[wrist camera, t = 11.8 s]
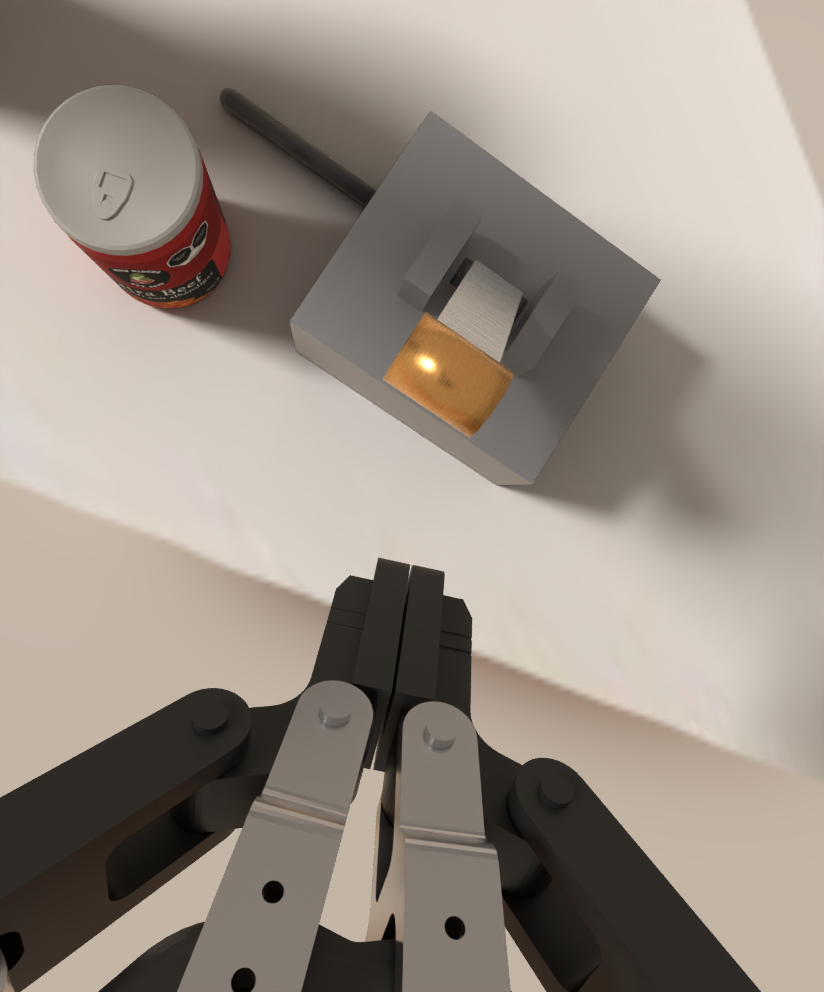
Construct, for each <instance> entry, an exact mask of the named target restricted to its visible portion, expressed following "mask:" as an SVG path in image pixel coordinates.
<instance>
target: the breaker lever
mask: <svg viewBox="0 0 824 992" xmlns="http://www.w3.org/2000/svg"><path fill="white" fill-rule="evenodd" d="M449 284H451V285H452V286H454V287H455V288H457V289H456V291H455V292H454V294H453V295H452V297H451V299H450V300H449V302H448V303H447V305H446V306H445V308H444V309H443V311H442V312H441V314H440V316H439V317H438V319H436V318H435V317H433V316H432V315H430V314H429V313H427V312H426V313H425V314H424V315H423V317H422V318H421V320H420V321H419V323H418V324H417V326H416V327H415V329H414V330H413V332H412V333H411V335H410V336H409V338H408V339H407V341H406V343H405V344H404V346H403V347H402V349H401V350H400V352H399V353H398V355H397V357H396V358H395V360H394V361H393V363H392V364H391V366H390V368H389V369H388V371H387V372H386V374H385V376H384V377H383V380H384V381H386V382H387V383H389V384H390V385H392V386H393V387H395V388H396V389H398V390H399V391H401V392H402V393H404V394H405V395H407V396H408V397H410V398H411V399H412V400H414V401H415V402H417V403H418V404H420V405H421V406H423V407H424V408H426V409H427V410H429V411H430V412H432V413H433V414H435V415H436V416H438V417H439V418H441V419H442V420H444V421H445V422H447V423H448V424H450V425H451V426H453V427H454V428H456V429H457V430H459V431H460V432H462V433H463V434H465V435H466V436H468V437H471V436H473V435H474V434H475V433H476V432H477V431H478V430H479V429H480V427H481V426H482V425H483V424H484V423H485V421H486V420H487V419H488V417H489V416H490V415H491V413H492V412H493V411H494V409H495V408H496V406H497V405H498V403H499V402H500V400H501V399H502V397H503V395H504V394H505V392H506V390H507V389H508V387H509V385H510V383H511V381H512V378H513V376H514V372H513V371H511V370H510V369H508V368H507V367H505V366H504V365H502V364H501V363H500V361H501V358H502V355H503V352H504V349H505V346H506V343H507V340H508V336H509V333H510V330H511V327H512V325H513V324H514V322H515V321H516V320H517V318H518V317H519V316H520V314H521V313H522V311H523V310H524V308H525V307H526V305H527V303H528V300H527V299H525V298H524V297H523V296H522V294H523V292H521V291H520V290H519V289H517V288H516V287H514V286H513V285H512V284H510V283H509V282H507V281H506V280H504V279H503V278H502V277H500V276H499V275H497V274H496V273H495V272H493V271H492V270H490V269H489V268H488V267H486V266H485V265H483V264H482V263H481V262H479V261H478V260H475V262H473V261H472V260H471V259H469V258H468V257H466V258H465V259H464V261H463V262H462V264H461V265H460V267H459V268H458V270H457V272H456V273H455V275H454V276H453V278H452V279H451V281H450V283H449Z"/></svg>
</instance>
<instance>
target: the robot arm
mask: <svg viewBox="0 0 824 992" xmlns="http://www.w3.org/2000/svg"><path fill="white" fill-rule="evenodd" d="M409 569H410V564H405V563H401V562H396V561H392V560H387V559H382V558H378V562H377V566H376V570H375V575H374V579H373V580H369V579H364V578H360V577H355V576H351V575H350V576H349V577H348V578H347V579H346V580H345V581H344V582H343V583H342V584H341V585H340V586H339V587H338V588H337V589H336V591H335V595H334V599H333V602H332V606H331V610H330V613H329V616H328V620H327V624H326V627H325V630H324V634H323V638H322V641H321V645H320V648H319V652H318V655H317V659H316V663H315V666H314V670H313V673H312V677H311V680H310V682H309V684H308V685H307V687H306V688H305V690H304V691H303V692H302V693H301V694H299V695H298V696H297V697H296V698H294V699H292V700H290V701H288V702H286V703H283V704H279V705H274V706H265V707H253V708H249V707H248V705H247V704H246V702H245V701H244V700H243V699H242V698H241V697H239V696H238V695H237V694H235V693H233V692H231V691H228V690H224V689H218V688H208V689H201V690H198V691H195V692H192V693H190V694H188V695H186V696H185V697H183V698H181V699H179V700H177V701H175V702H173V703H172V704H170V705H168V706H166V707H164V708H163V709H161V710H159V711H157V712H155V713H154V714H152V715H150V716H148V717H146V718H144V719H142V720H141V721H139V722H137V723H135V724H134V725H132V726H130V727H128V728H126V729H124V730H123V731H121V732H119V733H117V734H115V735H113V736H112V737H110V738H108V739H106V740H104V741H103V742H101V743H99V744H97V745H95V746H94V747H92V748H90V749H88V750H86V751H84V752H83V753H81V754H79V755H77V756H75V757H73V758H72V759H70V760H68V761H66V762H64V763H62V764H61V765H59V766H57V767H55V768H53V769H52V770H50V771H48V772H46V773H44V774H42V775H41V776H39V777H37V778H35V779H33V780H32V781H30V782H28V783H26V784H24V785H23V786H21V787H19V788H17V789H15V790H13V791H12V792H10V793H8V794H6V795H5V796H2V797H1V798H0V992H21V991H22V990H23V989H25V988H26V987H27V986H29V985H30V984H31V983H33V982H34V981H36V980H37V979H38V978H39V977H41V976H42V975H44V974H45V973H46V972H48V971H49V970H50V969H52V968H53V967H54V966H56V965H57V964H58V963H59V962H61V961H62V960H64V959H65V958H66V957H68V956H69V955H70V954H72V953H73V952H74V951H76V950H77V949H78V948H80V947H81V946H82V945H84V944H85V943H86V942H88V941H89V940H90V939H92V938H93V937H94V936H96V935H97V934H98V933H100V932H101V931H102V930H104V929H105V928H106V927H108V926H109V925H110V924H112V923H113V922H115V921H116V920H117V919H119V918H120V917H121V916H122V915H124V914H125V913H127V912H128V911H129V910H131V909H132V908H133V907H135V906H136V905H137V904H139V903H140V902H141V901H143V900H144V899H145V898H147V897H148V896H149V895H151V894H152V893H153V892H155V891H156V890H157V889H159V888H160V887H161V886H163V885H164V884H165V883H167V882H168V881H169V880H171V879H172V878H173V877H175V876H176V875H177V874H179V873H180V872H181V871H183V870H184V869H185V868H187V867H188V866H189V865H191V864H192V863H194V862H195V861H196V860H198V859H199V858H200V857H202V856H203V855H204V854H206V853H207V852H208V851H210V850H211V849H212V848H214V847H215V846H216V845H217V844H219V843H220V842H222V841H223V840H224V839H226V838H227V837H228V836H229V835H230V834H231V833H232V832H233V831H234V830H235V829H236V828H242V831H241V833H240V836H239V838H238V841H237V843H236V846H235V848H234V851H233V853H232V856H231V858H230V861H229V863H228V866H227V868H226V871H225V873H224V876H223V878H222V881H221V883H220V886H219V888H218V891H217V893H216V896H215V898H214V901H213V903H212V906H211V908H210V911H209V913H208V916H207V918H206V921H205V922H202V923H198V924H195V925H193V926H190V927H187V928H184V929H182V930H180V931H178V932H176V933H174V934H172V935H170V936H168V937H166V938H165V939H163V940H162V941H160V942H159V943H157V944H156V945H154V946H153V947H151V948H150V949H148V950H147V951H146V952H145V953H143V954H142V955H141V956H140V957H138V958H137V959H136V960H135V961H134V962H133V963H131V964H130V965H129V966H128V967H127V968H126V969H124V970H123V971H122V972H121V973H120V974H119V975H118V976H116V977H115V978H114V979H113V980H111V981H110V982H109V983H108V984H107V985H106V986H104V987H103V988H102V989H101V990H100V991H99V992H512V991H511V990H510V979H509V969H508V958H507V947H506V936H505V927H506V929H507V931H508V932H509V933H510V935H511V937H512V938H513V940H514V941H515V943H516V945H517V946H518V948H519V949H520V951H521V952H522V954H523V956H524V957H525V959H526V960H527V962H528V963H529V965H530V967H531V968H532V969H533V971H534V973H535V974H536V976H537V978H538V979H539V981H540V982H541V984H542V985H543V987H544V988H545V990H546V992H761V991H760V990H759V989H758V988H757V986H756V985H755V984H754V983H753V982H752V981H751V979H750V978H749V977H748V976H747V975H746V973H745V972H744V971H743V970H742V968H741V967H740V966H739V965H738V964H737V963H736V961H735V960H734V959H733V958H732V957H731V955H730V954H729V953H728V952H727V951H726V949H725V948H724V947H723V946H722V945H721V944H720V942H719V941H718V940H717V939H716V937H715V936H714V935H713V934H712V933H711V932H710V930H709V929H708V928H707V927H706V926H705V924H704V923H703V922H702V921H701V920H700V918H699V917H698V916H697V915H696V914H695V912H694V911H693V910H692V909H691V908H690V906H689V905H688V904H687V903H686V902H685V901H684V899H683V898H682V897H681V896H680V895H679V893H678V892H677V891H676V890H675V889H674V887H673V886H672V885H671V884H670V883H669V881H668V880H667V879H666V878H665V877H664V875H663V874H662V873H661V872H660V871H659V870H658V868H657V867H656V866H655V865H654V864H653V863H652V861H651V860H650V859H649V858H648V856H647V855H646V854H645V853H644V852H643V850H642V849H641V848H640V847H639V846H638V844H637V843H636V842H635V841H634V840H633V839H632V838H631V836H630V835H629V834H628V833H627V831H626V830H625V829H624V828H623V827H622V825H621V824H620V823H619V822H618V821H617V819H616V818H615V817H614V816H613V815H612V814H611V812H610V811H609V810H608V809H607V808H606V806H605V805H604V804H603V803H602V802H601V800H600V799H599V798H598V797H597V796H596V794H595V793H594V792H593V791H592V790H591V789H590V787H589V786H588V785H587V784H586V783H585V782H584V780H583V779H582V778H581V777H580V776H579V775H578V774H577V772H575V771H574V770H573V769H572V768H570V767H569V766H567V765H566V764H564V763H562V762H560V761H557V760H554V759H549V758H537V759H532V760H530V761H528V762H526V763H525V764H524V765H521V764H519V763H517V762H515V761H513V760H511V759H509V758H508V757H506V756H504V755H502V754H500V753H498V752H497V751H495V750H494V749H492V748H491V747H490V746H488V745H487V744H486V743H485V742H484V741H483V740H482V738H481V737H480V736H479V735H478V733H477V731H476V730H475V728H474V725H473V723H472V719H471V713H470V703H471V702H470V701H471V649H472V640H471V638H472V617H471V615H470V613H469V611H468V609H467V607H466V605H465V602H464V600H463V599H458V598H453V597H449V596H444V595H443V589H444V575H445V574H444V572H443V571H438V570H434V569H429V568H425V567H420V566H415V565H412V568H411V571H410V575H409ZM408 576H409V578H408ZM377 742H378V743H377ZM376 746H377V751H376V757H375V763H374V770H378V771H382V772H385V775H384V783H383V790H382V794H381V797H380V801H379V804H378V808H377V816H376V832H375V848H374V863H373V879H372V896H371V909H370V918H369V924H368V930H367V935H366V941H365V942H353V941H350V940H348V939H346V938H344V937H342V936H340V935H338V934H336V933H334V932H332V931H331V930H329V929H327V928H325V927H323V926H321V925H319V922H320V918H321V914H322V911H323V907H324V903H325V899H326V895H327V891H328V888H329V884H330V880H331V876H332V872H333V868H334V865H335V861H336V857H337V853H338V850H339V846H340V842H341V838H342V834H343V831H344V827H345V823H346V819H347V815H348V811H349V808H350V804H351V803H352V802H353V800H354V799H355V797H356V794H357V791H358V787H359V783H360V779H361V776H362V772H363V768H367V769H370V767H371V764H372V760H373V757H374V753H375V749H376Z"/></svg>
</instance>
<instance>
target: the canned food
mask: <svg viewBox="0 0 824 992" xmlns="http://www.w3.org/2000/svg"><path fill="white" fill-rule="evenodd" d="M34 176H35V182H36V187H37V190H38V192H39V195H40V197H41V200H42V202H43V204H44V206H45V207H46V209H47V210H48V212H49V214H50V215H51V217H52V218H53V220H54V221H55V223H56V224H57V225H58V226H59V227H60V228H61V229H62V230H63V231H64V232H65V233H66V234H67V235H68V236H69V237H70V238H71V240H72V241H73V242H74V243H75V244H76V245H77V246H78V247H79V248H80V249H82V250H83V251H84V252H85V253H86V254H87V255H88V256H89V257H90V258H91V259H92V260H93V261H94V262H95V263H96V264H97V265H98V266H99V267H100V268H101V269H102V270H103V271H104V272H105V273H106V274H107V275H109V276H110V277H111V278H112V279H113V280H114V281H115V282H116V283H117V284H118V285H119V286H120V287H121V288H122V289H123V290H124V291H125V292H126V293H128V294H129V295H130V296H132V297H133V298H135V299H136V300H138V301H140V302H142V303H144V304H147V305H150V306H154V307H158V308H178V307H185V306H188V305H191V304H194V303H196V302H198V301H200V300H201V299H203V298H205V297H206V296H207V295H208V294H209V293H210V292H212V291H213V290H214V289H215V287H216V286H217V285H218V283H219V282H220V280H221V279H222V277H223V275H224V273H225V270H226V268H227V266H228V261H229V257H230V236H229V230H228V227H227V224H226V222H225V219H224V216H223V213H222V211H221V208H220V205H219V202H218V200H217V197H216V194H215V191H214V189H213V186H212V183H211V180H210V178H209V175H208V172H207V169H206V167H205V164H204V161H203V158H202V156H201V153H200V150H199V149H198V146H197V144H196V141H195V139H194V137H193V135H192V134H191V132H190V130H189V129H188V127H187V126H186V124H185V122H184V121H183V119H182V118H181V117H180V116H179V115H178V114H177V113H176V112H175V110H174V109H173V108H172V107H171V106H169V105H168V104H167V103H165V102H164V101H163V100H161V99H160V98H159V97H157V96H155V95H153V94H151V93H149V92H147V91H145V90H141V89H138V88H134V87H131V86H124V85H104V86H96V87H93V88H89V89H86V90H83V91H80V92H79V93H77V94H75V95H73V96H72V97H70V98H68V99H66V100H65V101H64V102H63V103H62V104H61V105H60V106H58V107H57V108H56V109H55V110H54V111H53V112H52V114H51V115H50V117H49V118H48V119H47V121H46V122H45V123H44V125H43V128H42V130H41V132H40V134H39V136H38V139H37V143H36V147H35V152H34Z"/></svg>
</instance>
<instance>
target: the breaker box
mask: <svg viewBox="0 0 824 992" xmlns="http://www.w3.org/2000/svg"><path fill="white" fill-rule="evenodd" d="M220 101H221V104H222V105H223V107H224V108H226V109H227V110H228V111H230V112H231V113H233V114H234V115H236V116H237V117H238V118H240V119H241V120H243V121H244V122H245V123H247V124H248V125H250V126H251V127H253V128H254V129H255V130H257V131H258V132H260V133H261V134H262V135H264V136H265V137H267V138H268V139H270V140H271V141H272V142H274V143H275V144H277V145H278V146H279V147H281V148H282V149H284V150H285V151H287V152H288V153H289V154H291V155H292V156H294V157H295V158H296V159H298V160H299V161H301V162H302V163H304V164H305V165H306V166H308V167H309V168H311V169H312V170H313V171H315V172H316V173H318V174H319V175H321V176H322V177H323V178H325V179H326V180H328V181H329V182H330V183H332V184H333V185H335V186H336V187H338V188H339V189H340V190H342V191H343V192H345V193H346V194H347V195H349V196H350V197H352V198H353V199H355V200H356V201H357V202H359V203H360V204H362V205H363V206H364V207H365V209H364V210H363V212H362V213H361V215H360V216H359V218H358V219H357V221H356V222H355V224H354V225H353V227H352V228H351V230H350V231H349V233H348V234H347V236H346V237H345V239H344V240H343V242H342V243H341V245H340V246H339V248H338V249H337V251H336V252H335V254H334V255H333V257H332V258H331V260H330V261H329V263H328V264H327V266H326V267H325V269H324V270H323V272H322V273H321V275H320V276H319V278H318V279H317V281H316V282H315V284H314V285H313V287H312V288H311V290H310V291H309V293H308V294H307V296H306V297H305V299H304V300H303V302H302V303H301V305H300V306H299V308H298V309H297V311H296V312H295V314H294V315H293V317H292V318H291V320H290V326H291V331H292V335H293V340H294V344H295V349H296V352H297V353H299V354H300V355H302V356H303V357H305V358H306V359H308V360H309V361H311V362H312V363H314V364H315V365H317V366H318V367H320V368H321V369H323V370H324V371H326V372H327V373H329V374H330V375H332V376H333V377H335V378H336V379H338V380H339V381H341V382H342V383H344V384H345V385H347V386H348V387H350V388H351V389H353V390H354V391H356V392H357V393H359V394H360V395H362V396H363V397H365V398H366V399H368V400H369V401H371V402H372V403H374V404H375V405H377V406H378V407H380V408H381V409H383V410H384V411H386V412H387V413H389V414H390V415H392V416H393V417H395V418H396V419H398V420H399V421H401V422H402V423H404V424H405V425H407V426H408V427H410V428H411V429H413V430H414V431H416V432H417V433H419V434H420V435H422V436H423V437H425V438H426V439H428V440H429V441H431V442H432V443H434V444H435V445H437V446H438V447H440V448H441V449H443V450H444V451H446V452H447V453H449V454H450V455H452V456H453V457H455V458H456V459H458V460H459V461H461V462H462V463H464V464H465V465H467V466H468V467H470V468H471V469H473V470H474V471H476V472H477V473H479V474H480V475H482V476H483V477H485V478H486V479H488V480H489V481H491V482H492V483H494V484H495V485H522V484H533V483H534V481H535V479H536V478H537V476H538V475H539V473H540V471H541V470H542V468H543V467H544V465H545V463H546V462H547V460H548V459H549V457H550V456H551V454H552V452H553V451H554V449H555V448H556V446H557V444H558V443H559V441H560V440H561V438H562V436H563V435H564V433H565V432H566V430H567V429H568V427H569V425H570V424H571V422H572V421H573V419H574V417H575V416H576V414H577V413H578V411H579V409H580V408H581V406H582V405H583V403H584V402H585V400H586V398H587V397H588V395H589V394H590V392H591V390H592V389H593V387H594V386H595V384H596V382H597V381H598V379H599V378H600V376H601V375H602V373H603V371H604V370H605V368H606V367H607V365H608V363H609V362H610V360H611V359H612V357H613V355H614V354H615V352H616V351H617V349H618V348H619V346H620V344H621V343H622V341H623V340H624V338H625V336H626V335H627V333H628V332H629V330H630V328H631V327H632V325H633V324H634V322H635V321H636V319H637V317H638V316H639V314H640V313H641V311H642V309H643V308H644V306H645V305H646V303H647V301H648V300H649V298H650V297H651V295H652V294H653V292H654V290H655V289H656V287H657V286H658V284H659V282H660V281H661V280H660V279H659V278H657V277H656V276H655V275H653V274H652V273H651V272H649V271H648V270H647V269H645V268H644V267H643V266H641V265H640V264H638V263H637V262H636V261H634V260H633V259H632V258H630V257H629V256H628V255H626V254H625V253H623V252H622V251H621V250H619V249H618V248H617V247H615V246H614V245H613V244H611V243H610V242H609V241H607V240H606V239H604V238H603V237H602V236H600V235H599V234H598V233H596V232H595V231H594V230H592V229H591V228H590V227H588V226H587V225H585V224H584V223H583V222H581V221H580V220H579V219H577V218H576V217H575V216H573V215H572V214H570V213H569V212H568V211H566V210H565V209H564V208H562V207H561V206H560V205H558V204H557V203H556V202H554V201H553V200H551V199H550V198H549V197H547V196H546V195H545V194H543V193H542V192H541V191H539V190H538V189H536V188H535V187H534V186H532V185H531V184H530V183H528V182H527V181H526V180H524V179H523V178H522V177H520V176H519V175H517V174H516V173H515V172H513V171H512V170H511V169H509V168H508V167H507V166H505V165H504V164H503V163H501V162H500V161H498V160H497V159H496V158H494V157H493V156H492V155H490V154H489V153H488V152H486V151H485V150H483V149H482V148H481V147H479V146H478V145H477V144H475V143H474V142H473V141H471V140H470V139H469V138H467V137H466V136H464V135H463V134H462V133H460V132H459V131H458V130H456V129H455V128H454V127H452V126H451V125H450V124H448V123H447V122H445V121H444V120H443V119H441V118H440V117H439V116H437V115H436V114H435V113H433V112H432V111H430V112H429V113H428V115H427V116H426V118H425V119H424V121H423V122H422V124H421V125H420V127H419V128H418V130H417V131H416V133H415V134H414V136H413V137H412V139H411V140H410V142H409V143H408V145H407V146H406V148H405V149H404V151H403V152H402V154H401V155H400V157H399V158H398V160H397V161H396V163H395V164H394V166H393V167H392V169H391V170H390V172H389V173H388V175H387V176H386V178H385V179H384V181H383V182H382V184H381V185H380V186H379V188H378V189H377V191H375V190H374V189H373V188H371V187H370V186H368V185H367V184H366V183H364V182H363V181H361V180H360V179H359V178H357V177H356V176H354V175H353V174H351V173H350V172H349V171H347V170H346V169H344V168H343V167H342V166H340V165H339V164H337V163H336V162H335V161H333V160H332V159H330V158H329V157H328V156H326V155H325V154H323V153H322V152H321V151H319V150H318V149H316V148H315V147H313V146H312V145H311V144H309V143H308V142H306V141H305V140H304V139H302V138H301V137H299V136H298V135H297V134H295V133H294V132H292V131H291V130H290V129H288V128H287V127H285V126H284V125H283V124H281V123H280V122H278V121H277V120H275V119H274V118H273V117H271V116H270V115H268V114H267V113H266V112H264V111H263V110H261V109H260V108H259V107H257V106H256V105H254V104H253V103H252V102H250V101H249V100H247V99H246V98H245V97H243V96H242V95H240V94H239V93H237V92H236V91H235V90H233V89H230V88H227V89H224V90H223V91H222V92H221V94H220ZM466 257H468V258H469V259H471V260H472V261H473V262H475V260H478V261H479V262H481V263H482V264H483V265H485V266H486V267H488V268H489V269H490V270H492V271H493V272H495V273H496V274H497V275H499V276H500V277H502V278H503V279H504V280H506V281H507V282H509V283H510V284H512V285H513V286H514V287H516V288H517V289H519V290H520V291H521V292H523V294H522V296H523V297H524V298H525V299H527V300H528V303H527V305H526V307H525V308H524V310H523V311H522V313H521V314H520V316H519V317H518V318H517V320H516V321H515V322H514V324H513V325H512V327H511V330H510V333H509V336H508V340H507V343H506V346H505V349H504V352H503V355H502V358H501V361H500V363H501V364H502V365H504V366H505V367H507V368H508V369H510V370H511V371H513V372H514V376H513V378H512V381H511V383H510V385H509V387H508V389H507V390H506V392H505V394H504V395H503V397H502V399H501V400H500V402H499V403H498V405H497V406H496V408H495V409H494V411H493V412H492V413H491V415H490V416H489V417H488V419H487V420H486V421H485V423H484V424H483V425H482V426H481V427H480V429H479V430H478V431H477V432H476V433H475V434H474V435H473V436H471V437H468V436H466V435H465V434H463V433H462V432H460V431H459V430H457V429H456V428H454V427H453V426H451V425H450V424H448V423H447V422H445V421H444V420H442V419H441V418H439V417H438V416H436V415H435V414H433V413H432V412H430V411H429V410H427V409H426V408H424V407H423V406H421V405H420V404H418V403H417V402H415V401H414V400H412V399H411V398H410V397H408V396H407V395H405V394H404V393H402V392H401V391H399V390H398V389H396V388H395V387H393V386H392V385H390V384H389V383H387V382H386V381H384V380H383V377H384V376H385V374H386V372H387V371H388V369H389V368H390V366H391V364H392V363H393V361H394V360H395V358H396V357H397V355H398V353H399V352H400V350H401V349H402V347H403V346H404V344H405V343H406V341H407V339H408V338H409V336H410V335H411V333H412V332H413V330H414V329H415V327H416V326H417V324H418V323H419V321H420V320H421V318H422V317H423V315H424V314H425V313H426V312H427V313H429V314H430V315H432V316H433V317H435V318H436V319H438V317H439V316H440V314H441V312H442V311H443V309H444V308H445V306H446V305H447V303H448V302H449V300H450V299H451V297H452V295H453V294H454V292H455V291H456V289H457V288H455V287H454V286H452V285H451V284H449V283H450V281H451V279H452V278H453V276H454V275H455V273H456V272H457V270H458V268H459V267H460V265H461V264H462V262H463V261H464V259H465V258H466Z"/></svg>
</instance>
